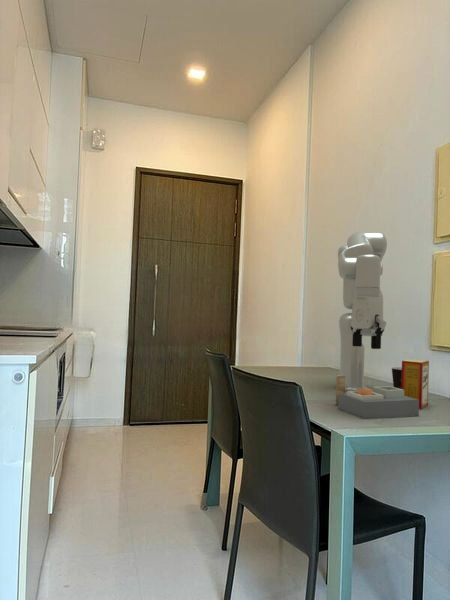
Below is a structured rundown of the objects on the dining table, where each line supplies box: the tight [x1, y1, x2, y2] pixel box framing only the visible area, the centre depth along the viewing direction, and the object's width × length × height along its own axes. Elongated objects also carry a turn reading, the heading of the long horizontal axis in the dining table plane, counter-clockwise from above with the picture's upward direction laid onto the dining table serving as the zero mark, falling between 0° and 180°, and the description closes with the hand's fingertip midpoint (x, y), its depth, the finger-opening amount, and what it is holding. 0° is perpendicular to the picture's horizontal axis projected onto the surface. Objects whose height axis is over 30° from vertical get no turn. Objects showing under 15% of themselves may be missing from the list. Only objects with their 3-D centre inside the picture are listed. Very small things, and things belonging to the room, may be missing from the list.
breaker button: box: [358, 387, 373, 395], centre depth 142 cm, size 4×4×4 cm
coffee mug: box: [391, 366, 402, 389], centre depth 177 cm, size 12×9×10 cm
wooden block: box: [335, 374, 346, 407], centre depth 153 cm, size 3×3×10 cm
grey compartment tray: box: [337, 385, 420, 420], centre depth 143 cm, size 14×20×8 cm
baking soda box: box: [401, 358, 430, 410], centre depth 155 cm, size 10×6×16 cm
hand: (366, 347), depth 142 cm, fingers open, 9 cm apart
